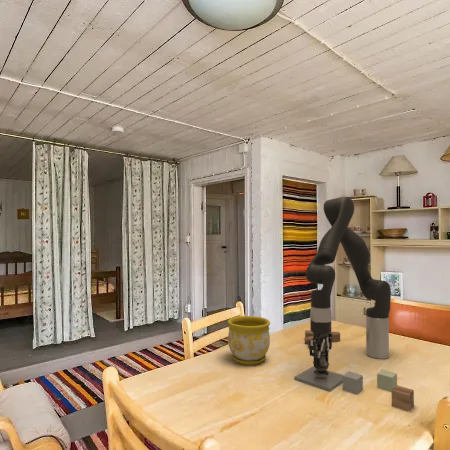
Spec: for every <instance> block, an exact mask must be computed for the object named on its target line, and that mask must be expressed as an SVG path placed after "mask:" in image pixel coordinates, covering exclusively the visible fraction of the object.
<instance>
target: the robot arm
mask: <svg viewBox="0 0 450 450" xmlns="http://www.w3.org/2000/svg"><path fill="white" fill-rule="evenodd" d="M323 212H324V215H325V218H326V219H327V222H328V223H329V224H330V226H331V227H330V228H329V229H328V230H327V232H326V233H325V234H324V235H323V237H322V238H321V240H320V243H319V245H318V249H317V250H316V251H317V252H316V254H315V255H314V257H313V258H312V260H311V261H310V263H309V264H308V266H307V268H306V270H305V278H306V280H307V282H308V283H310V284H316V285H322V287H321V288H320V289H315V290H313V291H311V293H310V310H309V311H310V312H309V313H310V315H309V316H310V321H309V322H310V327H309V328H310V329H309V330H311V331H312V332H313V333H314V336H313V340H309V347H308V349H309V351H308V353H309V356H310V357H313V361H314V364H313V366H314V367H317V368H319V367H320V353H321V351H322V349H323V345H324V344H325V352H326V354H325V360H326V362H328V363H329V354H330V351H331V350H332V348H333V347H332V346H333V342H332V333H331V332H332V310H331V309H332V306H331V296H332V292H333V288H334V287H333V286H334V283H335V281H336V271H335V268H334V267H333V266H331V265H329V264H333V263H335V260H336V257H337V253H338V250H339V246H340V244H341V246H342V248H343V251H344V252H345V253H344V254H345V255H346V257H347V259H348V261H349V263H350V266H351V267H352V270H353V272H354V274H355V277H356V280H357V283H358V285H359V288H360V291H361V293H362V296H363V297H364V298H365V299H367V300H371V301H374V305H373V307H368V308H366V309H365V351H366V352H365V354H366V356H368V357H369V358H370V357H371V358H373V359H379V360H383V359H384V360H385V359H388V358H389V357H390V327H389V326H390V322H389V320H390V319H389V316H390V315H389V314H390V312H391V297H392V290H391V285H390V283H389V282H388V281H386V280H380V279H375V278H373V277H372V275H371V273H370V271H369V265H370V261H371V253H370V250H369V248H368V246H367V244H366V241H365V240H364V239H363V237H361V236H360V235H359V234H358V233H357V232H355V231H353V230H352V229H351V228H349V224H350V222H351V220H352V218H353V215H354V213H355V203H354V201H353V200H352V199H351V197H349V196H340V197H336V198H335V197H334V198H332V199H328V200H326V201H325V202H324V203H323ZM317 347H320V348H317ZM317 350H318V354H317Z"/></svg>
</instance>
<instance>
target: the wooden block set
mask: <svg viewBox="0 0 450 450" xmlns="http://www.w3.org/2000/svg"><path fill="white" fill-rule="evenodd" d="M331 333H332V343H338V342H341V333H340V332H339V331H331ZM313 336H314V333H313V332H312V331H311V330H310V329H309V330H308V329H307V330H305V331H304V344H306V345H307V346H308V348H309V340H313Z"/></svg>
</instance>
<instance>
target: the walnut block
mask: <svg viewBox="0 0 450 450" xmlns="http://www.w3.org/2000/svg"><path fill="white" fill-rule="evenodd" d="M414 406H415V390H414V389H411V388H409V387H405V386H402V385H398V384H397V385H396V386H395V387H394V388H393V389H392V392H391V407H394V408H397V409H400V410H403V411H405V412H408V411H409V412H410V411H411V410H412V409H413V408H414Z"/></svg>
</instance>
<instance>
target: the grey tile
mask: <svg viewBox="0 0 450 450" xmlns="http://www.w3.org/2000/svg"><path fill="white" fill-rule="evenodd" d="M315 370H316V369H315V367H314V365H313V366H311V367H310V368H307V369H306V370H304V371H302V372H301V373H299V374H297V375H295V376H294V378H293V380H295V381H298V382H300V383H303V384H307V385H309V386H312V387H315V388H318V389H321V390H324V391H327V392H328V393H331V391H333V390H334V389H336V388H337V387H339V386H340V385H341V384H343V375H344V374H341V373H337V372H334V371H331V370H328V369H327V370H326V371H327V372H328V373H329V374H328V375H326V376H319V375H316V374H315V373H314V371H315Z"/></svg>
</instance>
